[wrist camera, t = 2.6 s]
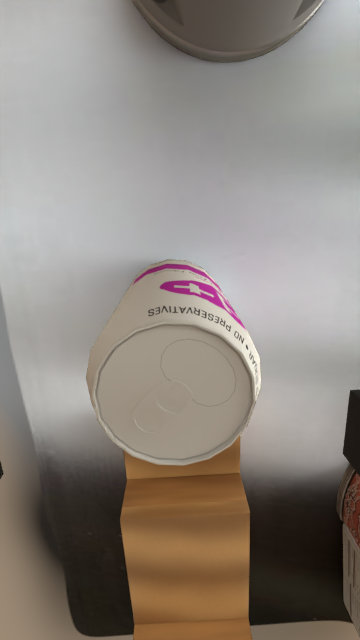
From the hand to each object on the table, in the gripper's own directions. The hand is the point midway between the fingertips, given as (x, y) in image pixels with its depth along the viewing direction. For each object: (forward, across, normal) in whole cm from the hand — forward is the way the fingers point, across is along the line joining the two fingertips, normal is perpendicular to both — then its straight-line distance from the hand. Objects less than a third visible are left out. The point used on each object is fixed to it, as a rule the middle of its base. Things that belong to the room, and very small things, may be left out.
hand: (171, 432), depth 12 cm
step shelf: (+17, 0, -20) cm, 27 cm away
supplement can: (+17, 0, 0) cm, 17 cm away
